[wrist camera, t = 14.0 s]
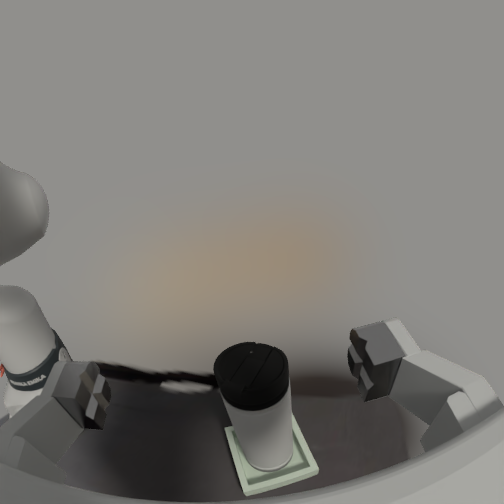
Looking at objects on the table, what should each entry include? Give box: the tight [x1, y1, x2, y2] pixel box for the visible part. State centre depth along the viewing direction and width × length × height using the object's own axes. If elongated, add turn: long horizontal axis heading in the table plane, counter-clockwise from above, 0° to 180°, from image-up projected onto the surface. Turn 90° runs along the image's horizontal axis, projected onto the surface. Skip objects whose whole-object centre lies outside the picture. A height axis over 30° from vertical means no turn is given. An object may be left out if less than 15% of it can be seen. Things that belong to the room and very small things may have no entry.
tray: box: [225, 414, 319, 496], centre depth 32 cm, size 9×10×2 cm
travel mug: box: [214, 342, 293, 472], centre depth 27 cm, size 6×7×20 cm
